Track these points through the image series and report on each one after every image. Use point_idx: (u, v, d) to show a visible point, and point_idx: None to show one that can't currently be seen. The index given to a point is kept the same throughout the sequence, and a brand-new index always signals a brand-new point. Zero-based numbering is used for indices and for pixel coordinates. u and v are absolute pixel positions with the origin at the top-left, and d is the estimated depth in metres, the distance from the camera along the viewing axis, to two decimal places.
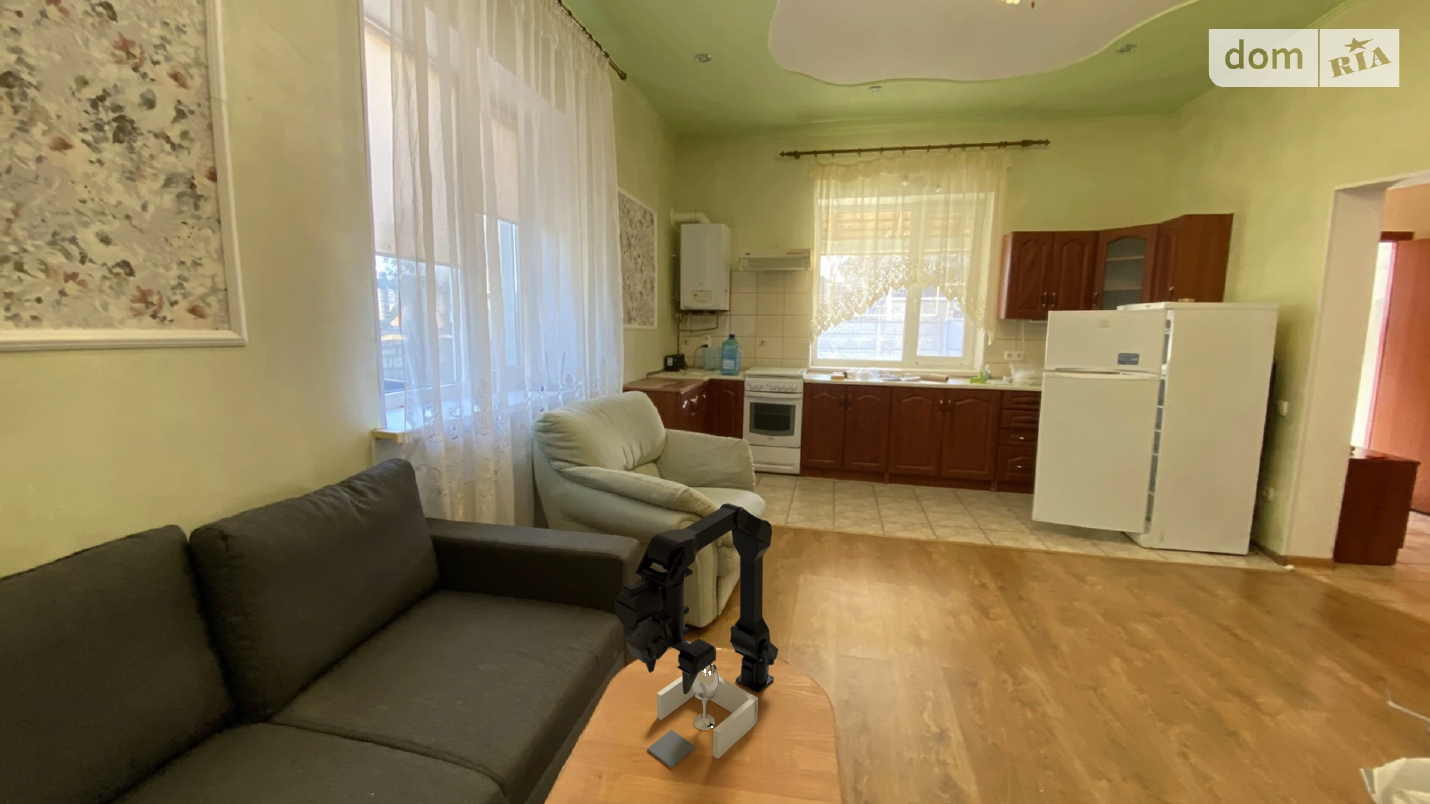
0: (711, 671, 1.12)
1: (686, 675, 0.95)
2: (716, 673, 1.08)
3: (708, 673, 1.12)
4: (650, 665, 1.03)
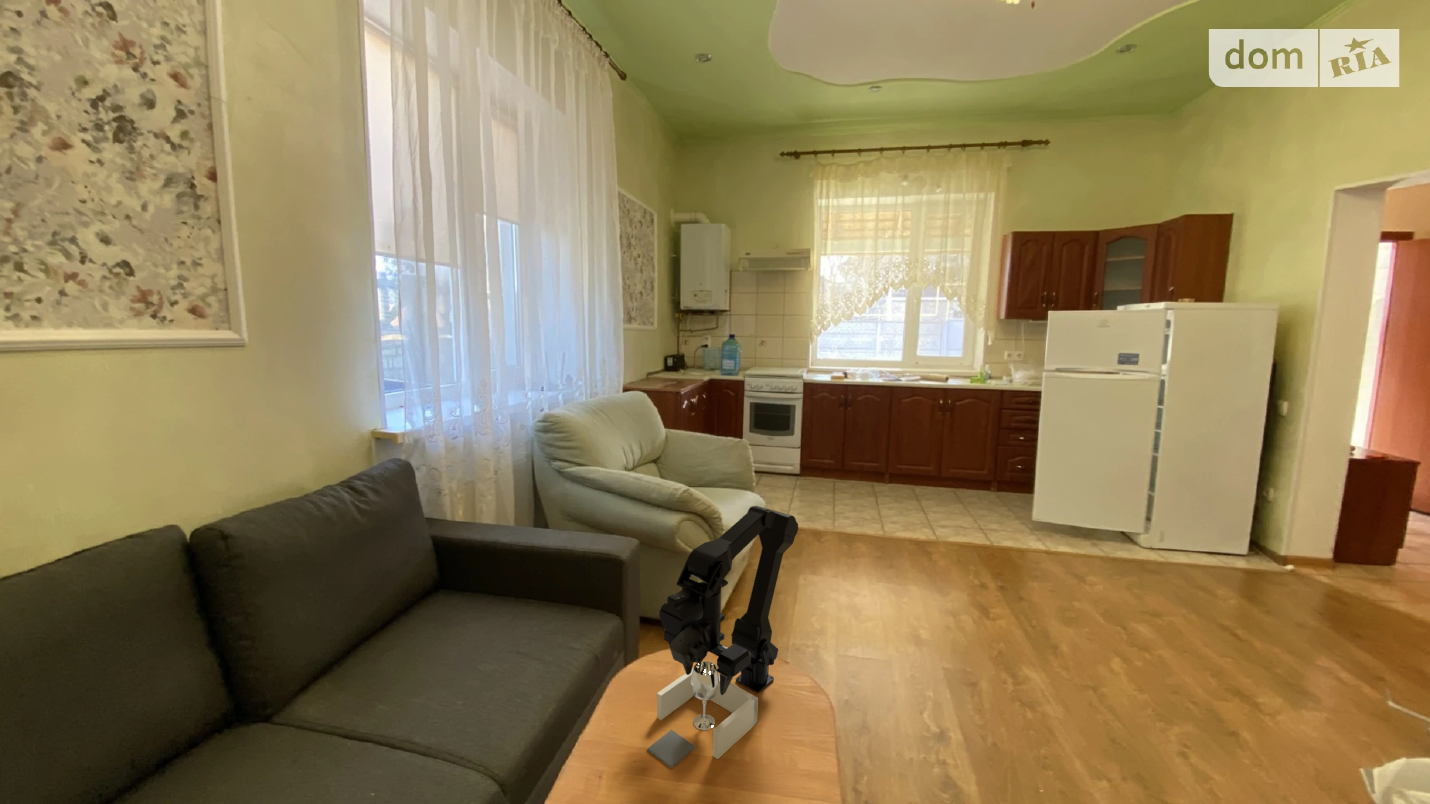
0: (711, 671, 1.12)
1: (723, 677, 1.04)
2: (716, 673, 1.08)
3: (708, 673, 1.12)
4: (688, 668, 1.12)
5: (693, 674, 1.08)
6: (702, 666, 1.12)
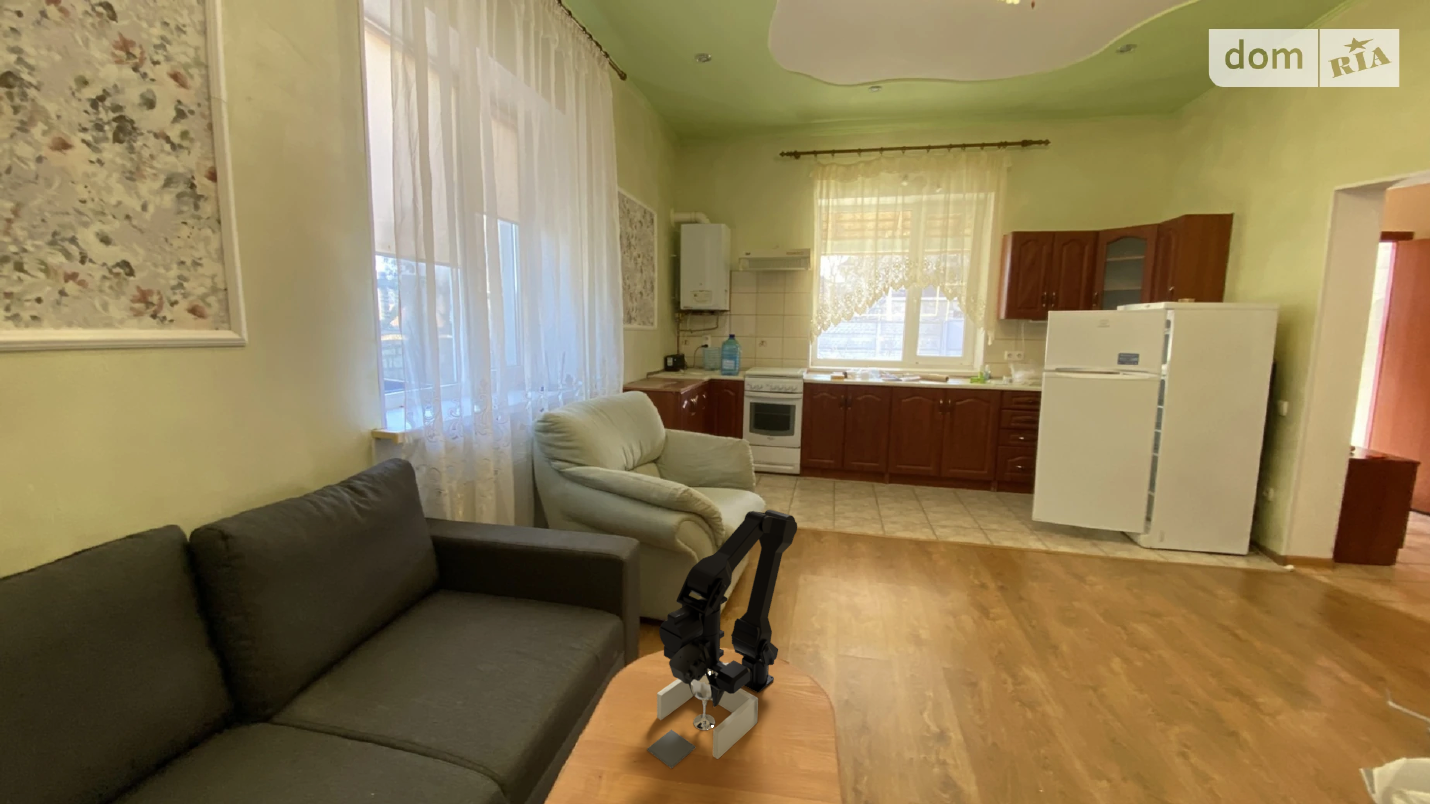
0: (711, 671, 1.12)
1: (716, 690, 1.05)
2: None
3: (708, 673, 1.12)
4: None
5: None
6: None
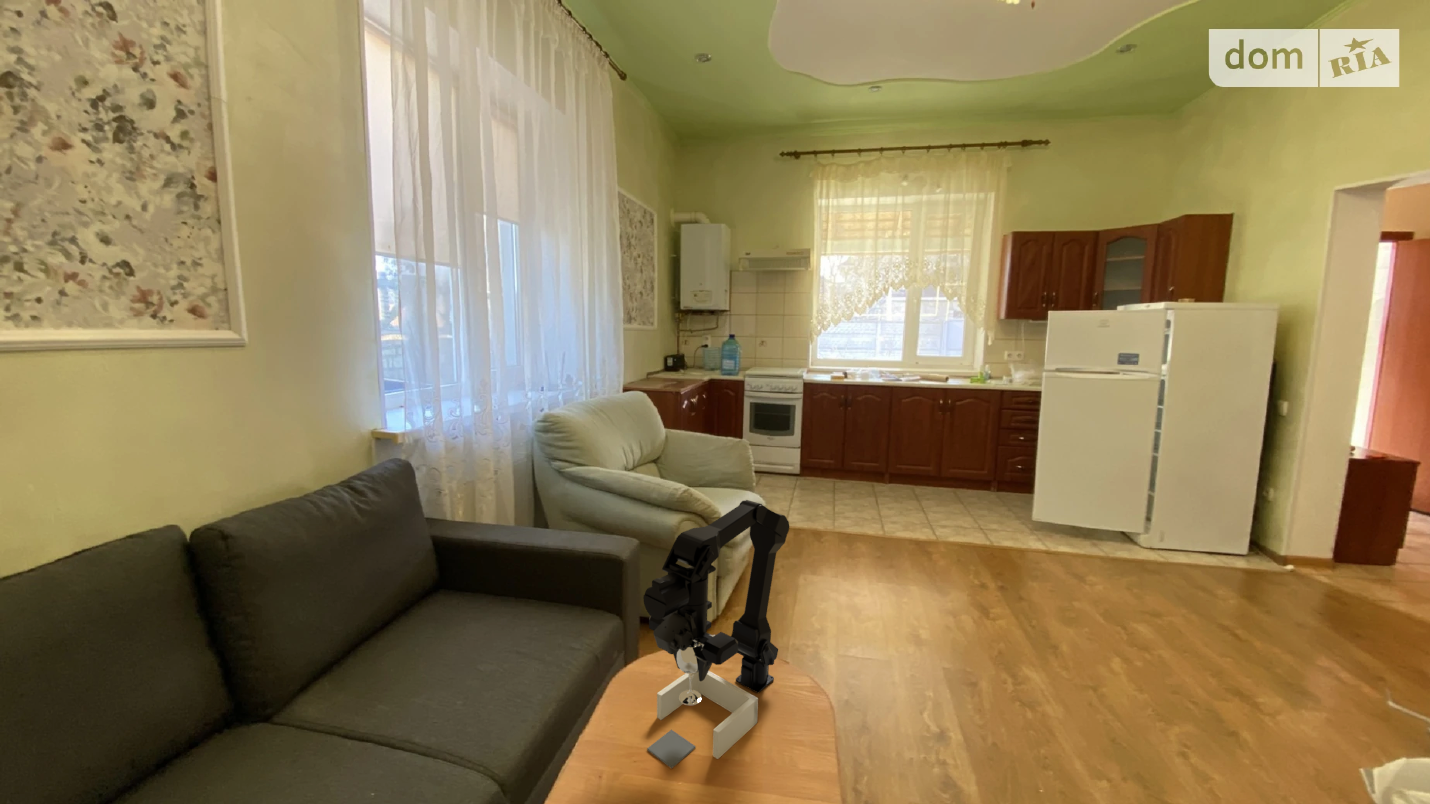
0: (698, 645, 1.07)
1: (702, 663, 1.01)
2: None
3: (695, 646, 1.08)
4: None
5: None
6: None
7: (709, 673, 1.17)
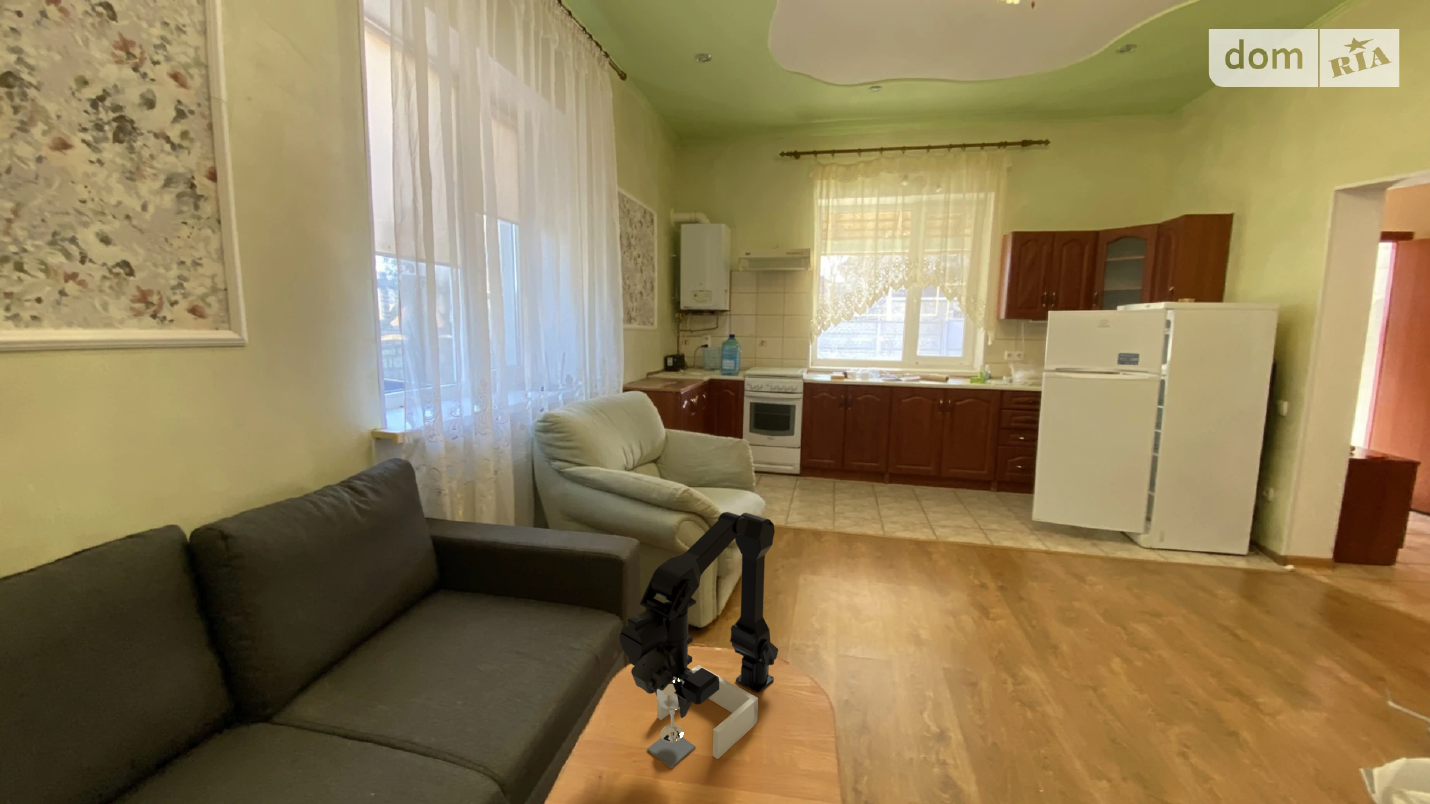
0: (680, 679, 1.04)
1: (683, 700, 0.98)
2: None
3: (676, 680, 1.04)
4: None
5: None
6: None
7: None
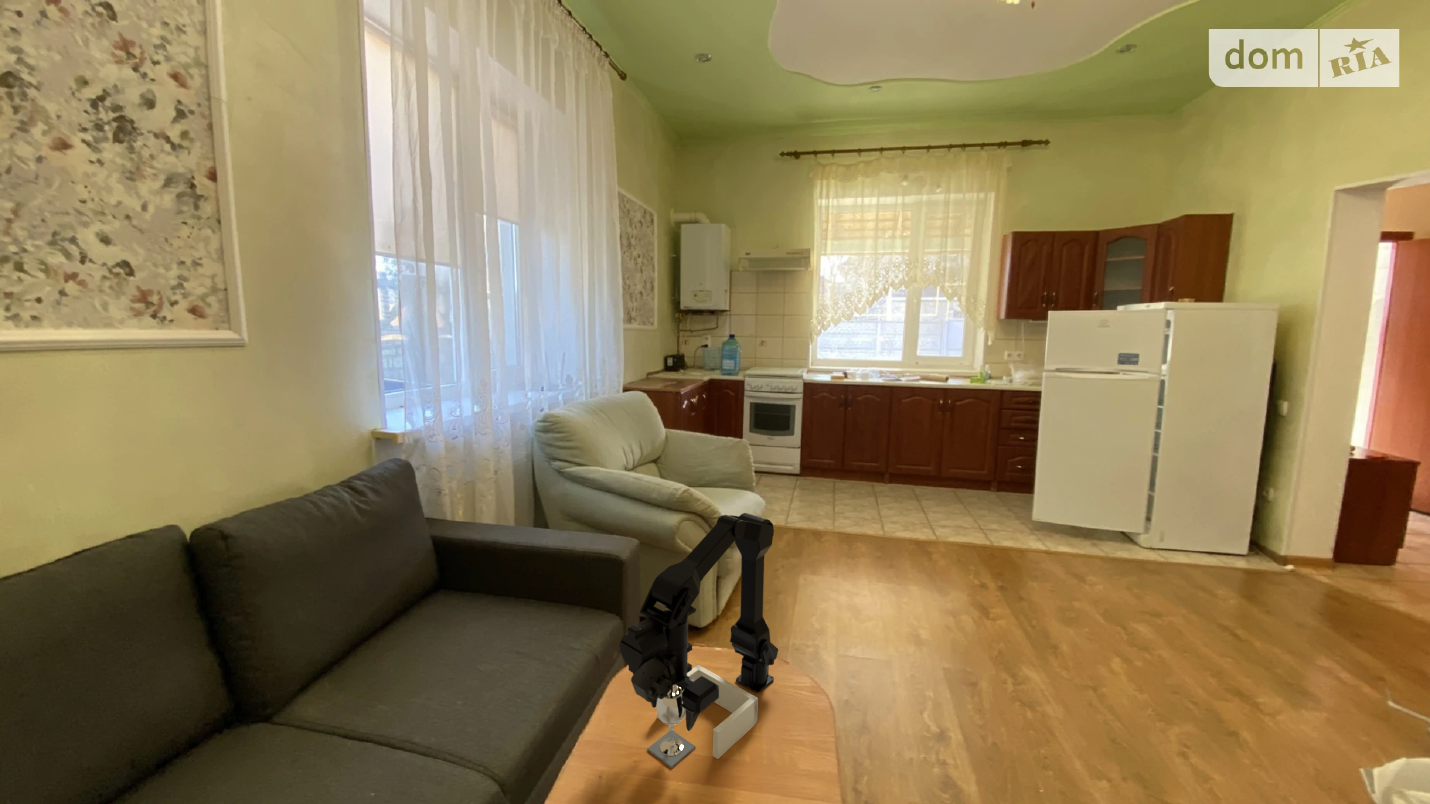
0: (679, 693, 1.04)
1: (689, 713, 0.97)
2: None
3: (676, 694, 1.05)
4: (654, 700, 1.05)
5: None
6: None
7: (709, 673, 1.17)
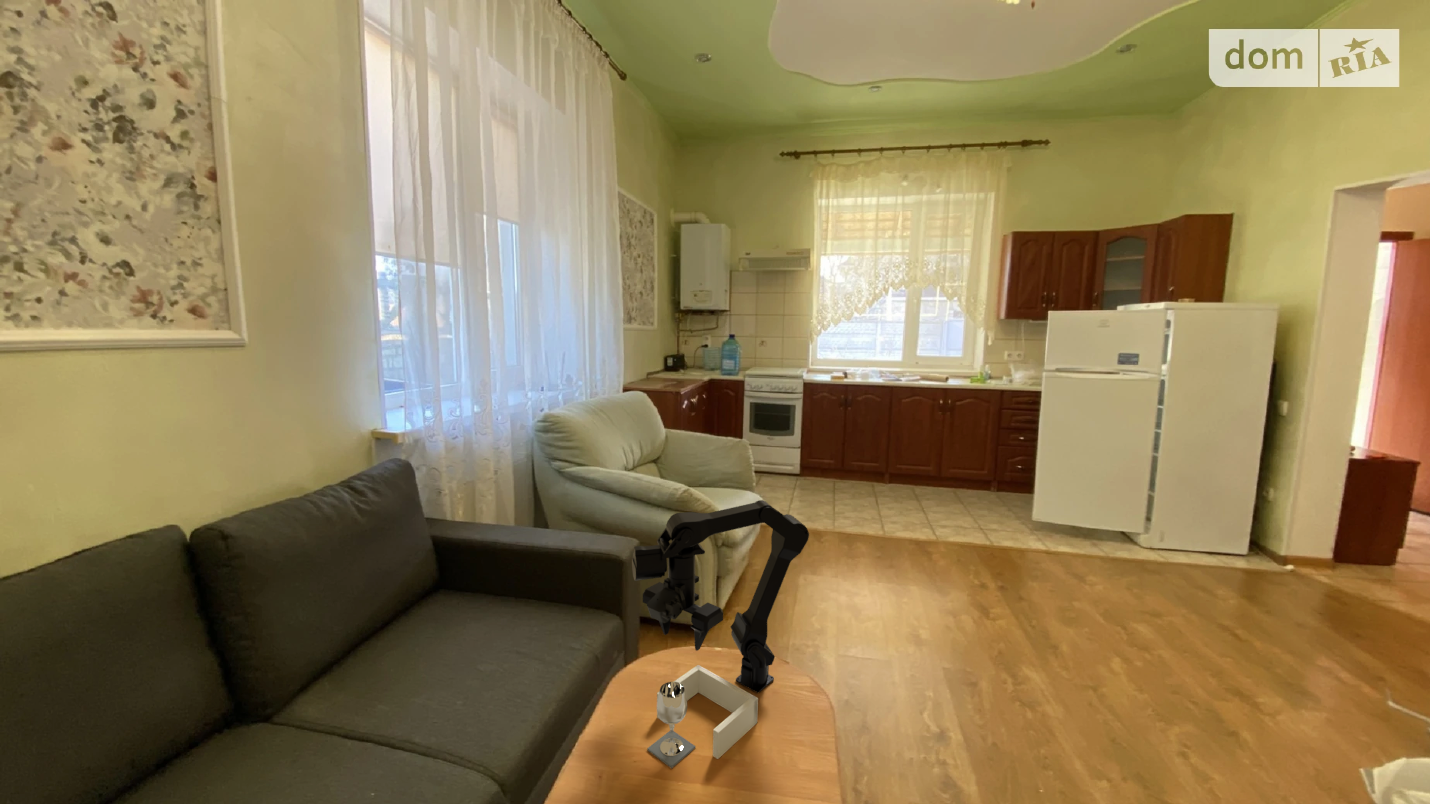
0: (680, 692, 1.04)
1: (698, 633, 1.12)
2: (683, 695, 1.01)
3: (676, 694, 1.05)
4: (665, 628, 1.19)
5: (659, 696, 1.01)
6: (670, 686, 1.04)
7: (709, 673, 1.17)
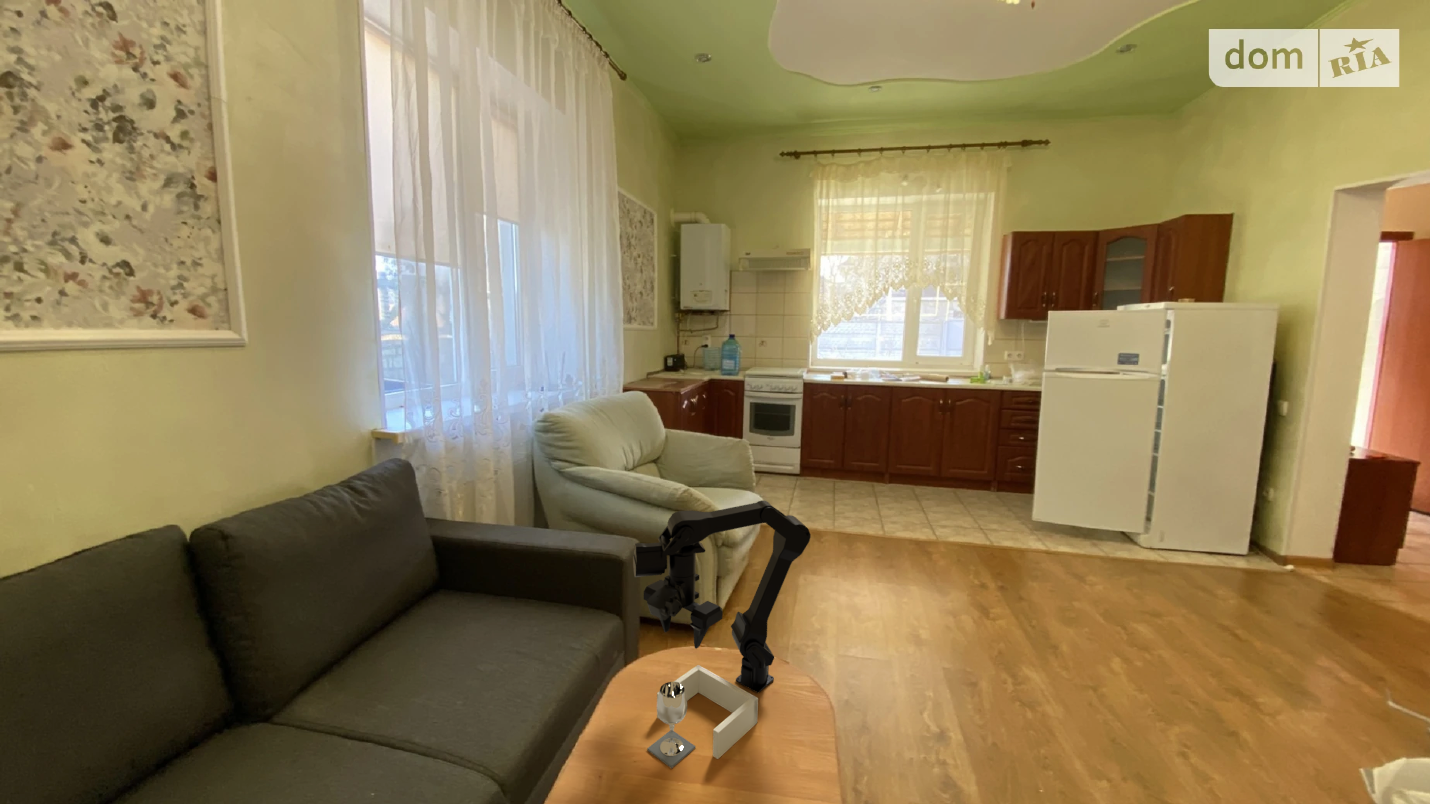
0: (680, 692, 1.04)
1: (697, 631, 1.12)
2: (684, 695, 1.01)
3: (676, 694, 1.05)
4: (665, 625, 1.20)
5: (659, 696, 1.01)
6: (670, 686, 1.04)
7: (709, 673, 1.17)
